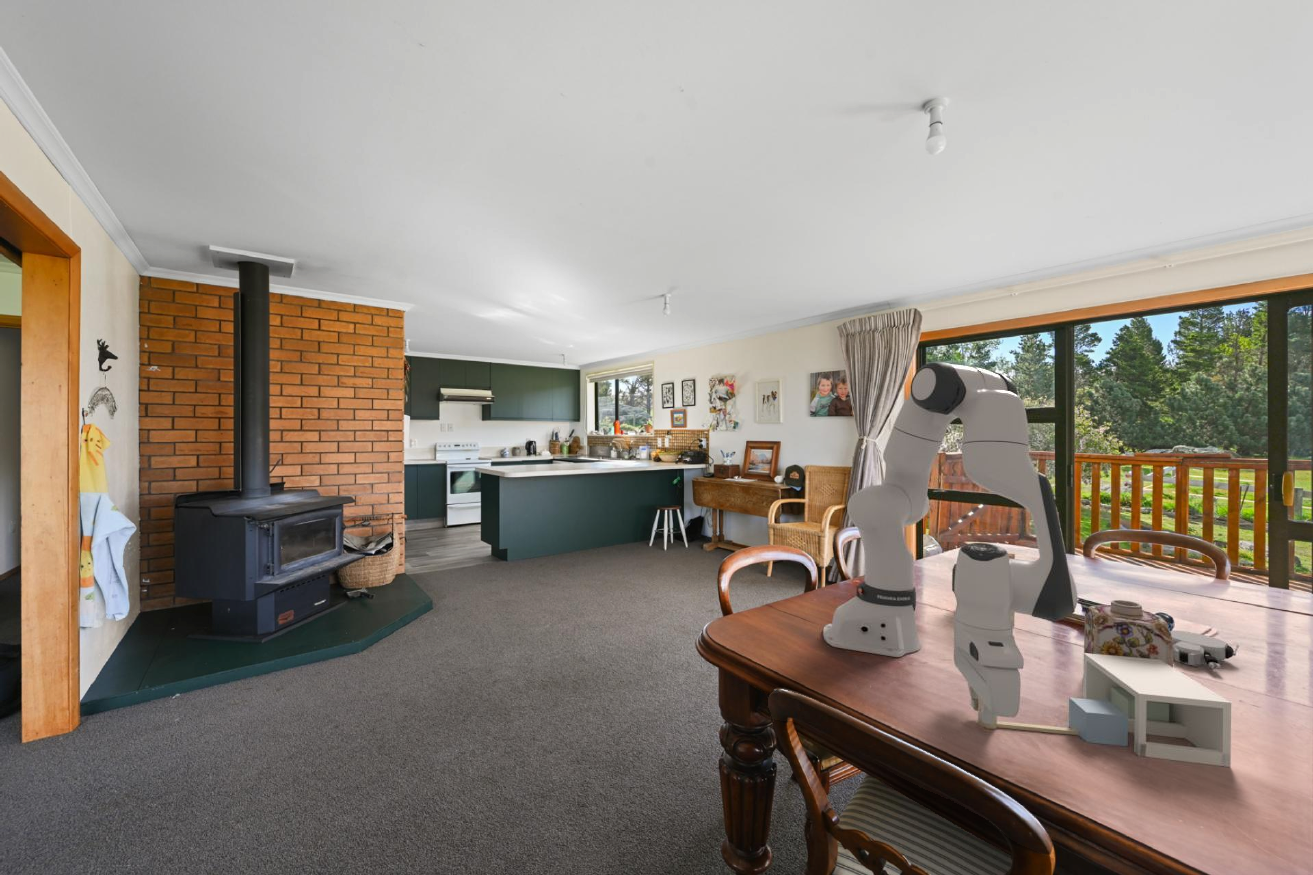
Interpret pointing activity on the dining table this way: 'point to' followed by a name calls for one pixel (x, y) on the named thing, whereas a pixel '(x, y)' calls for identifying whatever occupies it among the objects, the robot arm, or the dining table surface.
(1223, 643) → the robot toy
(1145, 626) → the decorative jar
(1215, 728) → the shelf
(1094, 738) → the corded block
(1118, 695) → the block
